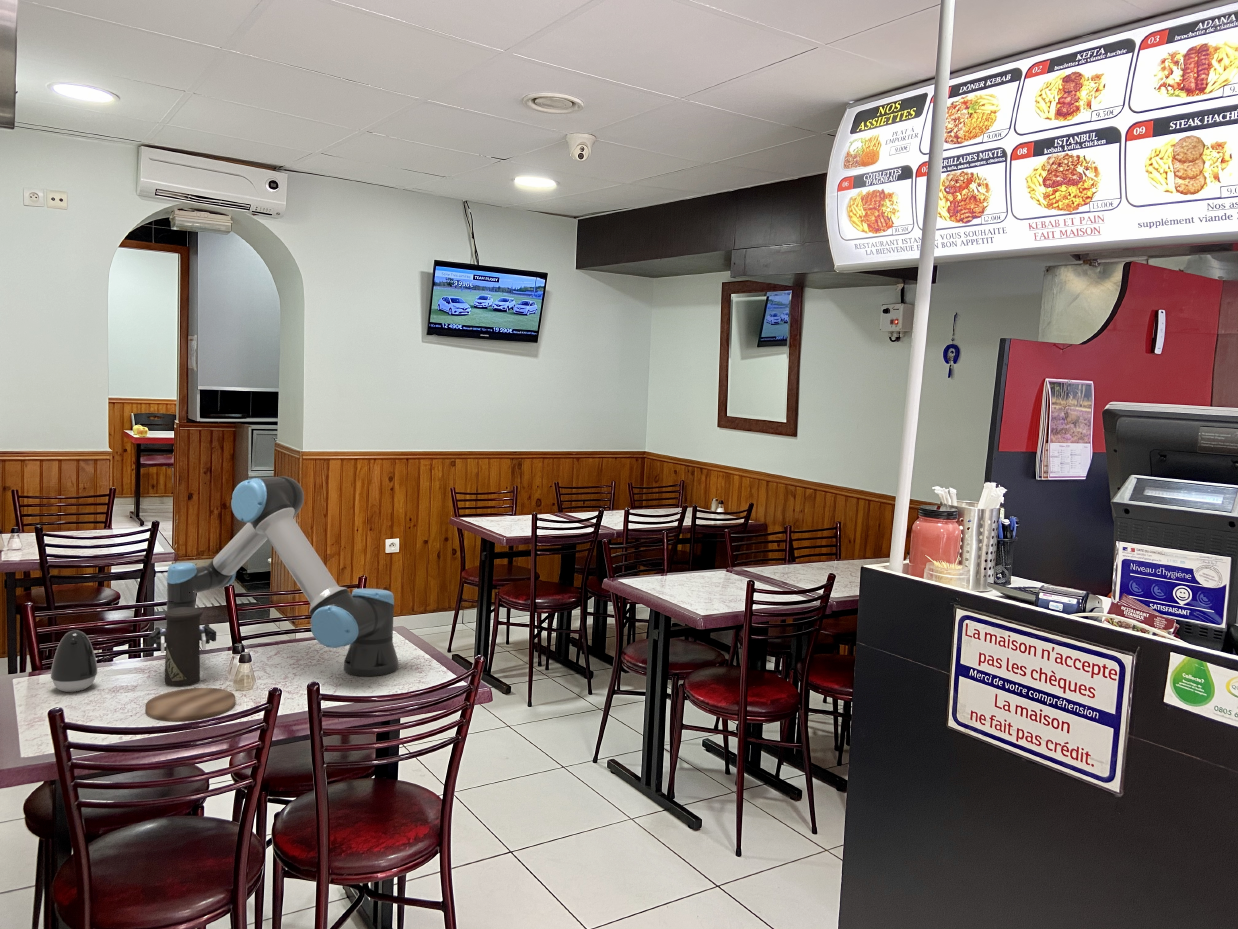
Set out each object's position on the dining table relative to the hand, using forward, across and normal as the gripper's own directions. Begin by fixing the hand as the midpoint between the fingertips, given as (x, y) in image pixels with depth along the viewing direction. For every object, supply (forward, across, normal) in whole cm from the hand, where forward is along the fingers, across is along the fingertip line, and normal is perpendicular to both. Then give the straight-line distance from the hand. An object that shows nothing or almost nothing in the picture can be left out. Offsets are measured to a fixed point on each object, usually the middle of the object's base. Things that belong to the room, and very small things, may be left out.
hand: (183, 646), depth 231 cm
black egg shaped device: (-7, +25, -11) cm, 28 cm away
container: (-5, 0, -11) cm, 12 cm away
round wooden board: (+16, -2, -11) cm, 20 cm away
